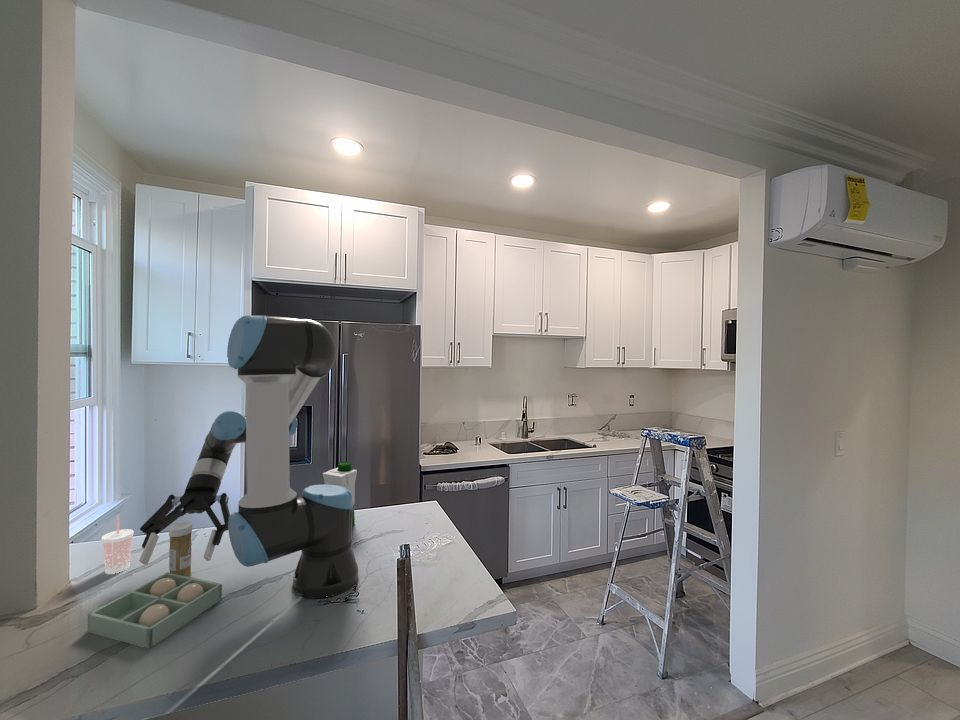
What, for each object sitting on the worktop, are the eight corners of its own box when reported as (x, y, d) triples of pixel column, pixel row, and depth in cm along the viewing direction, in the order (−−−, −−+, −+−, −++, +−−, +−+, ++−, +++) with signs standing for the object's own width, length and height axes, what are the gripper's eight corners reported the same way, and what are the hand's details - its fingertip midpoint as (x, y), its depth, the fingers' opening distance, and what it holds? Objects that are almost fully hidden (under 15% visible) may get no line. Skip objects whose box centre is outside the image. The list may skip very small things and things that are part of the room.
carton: (221, 601, 91) (221, 583, 91) (148, 651, 76) (149, 629, 76) (166, 589, 95) (167, 572, 95) (87, 634, 80) (87, 614, 80)
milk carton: (358, 523, 134) (360, 463, 134) (339, 534, 126) (341, 470, 125) (337, 518, 138) (339, 460, 137) (317, 529, 129) (319, 466, 129)
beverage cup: (138, 561, 107) (138, 509, 107) (125, 574, 101) (126, 518, 101) (109, 564, 105) (110, 511, 105) (95, 577, 99) (95, 520, 99)
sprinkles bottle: (191, 581, 99) (191, 526, 99) (167, 587, 96) (168, 530, 96) (191, 572, 103) (192, 520, 102) (169, 577, 100) (169, 523, 100)
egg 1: (181, 596, 92) (182, 575, 92) (160, 609, 87) (160, 587, 87) (165, 592, 93) (165, 571, 93) (143, 605, 89) (143, 583, 88)
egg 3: (208, 602, 90) (209, 580, 90) (188, 615, 86) (188, 593, 85) (191, 598, 91) (192, 577, 91) (170, 611, 87) (171, 589, 87)
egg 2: (175, 624, 83) (175, 601, 83) (151, 640, 78) (151, 615, 78) (157, 619, 84) (157, 596, 84) (132, 635, 79) (132, 611, 79)
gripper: (258, 484, 117) (236, 562, 102) (160, 486, 112) (123, 569, 98) (252, 471, 111) (228, 552, 97) (149, 473, 107) (107, 558, 92)
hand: (175, 561), depth 97 cm, fingers open, 13 cm apart
